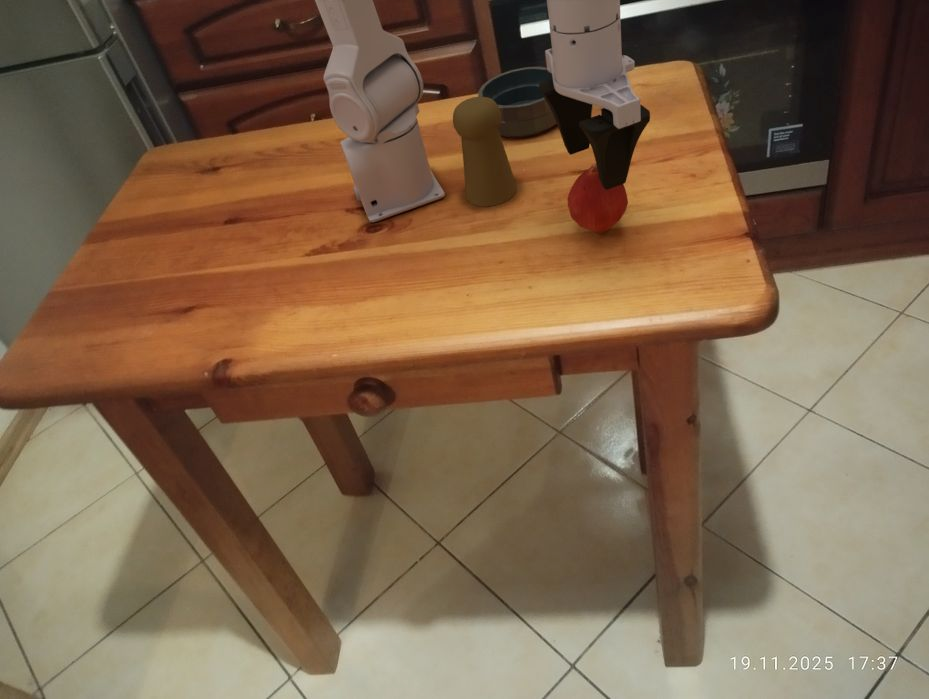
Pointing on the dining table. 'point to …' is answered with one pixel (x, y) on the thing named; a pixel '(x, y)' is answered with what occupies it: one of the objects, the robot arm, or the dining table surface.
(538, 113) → the bowl
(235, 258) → the dining table surface
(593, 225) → the onion
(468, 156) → the olive pawn
